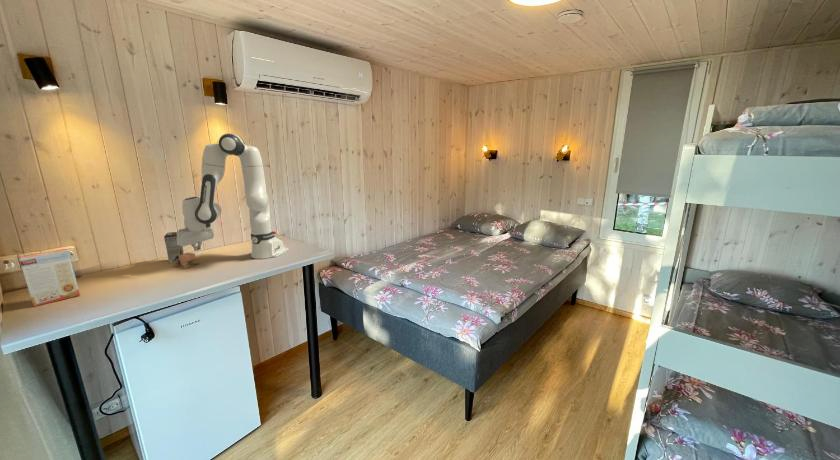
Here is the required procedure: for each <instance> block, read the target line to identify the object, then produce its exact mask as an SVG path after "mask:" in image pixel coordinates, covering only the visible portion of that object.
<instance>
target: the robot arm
mask: <svg viewBox="0 0 840 460" xmlns="http://www.w3.org/2000/svg"><path fill="white" fill-rule="evenodd" d="M228 156H235V157H238V158H239V161H240V165H241V167H240V168H241V173H242V178H243V187H244V197H245V202H246V203H245V204H246V206H247V207H248V211H249V225H250V240H251V252H250V256H251V258H253V259H257V260H259V259H260V260H262V259H269V258H277V257H279V256H280V255H281V256H282V254H284V253H286V252H287V251H289V248H288V247H286V246H285V245H284V244H285V243H284V241H282V240H281V239H279V238H278V237H276V236H275V235H278V231H277V230H272V221H271V212H270V211H271V210H270V200H269V199H270V198H269V196H268V194H267V185H266V177H265V171H264V163H263V159H262V156H261V153H260V149H258V147H256V146H252V145H246V144H245V141H244V139H243V138H242V137H241V136H239V135H238V134H235V133H224V134H222V135H221V136H220V137H219V139H218V143H210V144H209V143H208V144H207V145H205V147H204V149H203V152H202V157H201V188H200V194H199V195H200V197H199V196H191V197H187V198H184V199H183V200H182V203H181V206H182V208H181V209H182V215H183V217H184V220H183V222H184V223H183V224H184V225H183V226H184V228H180V229H178V230H177V231H176V232H177V245H178V246H183V247H186V246H189V245H191V246H192V248H193V251H200V250H202V245H203V242H205V241H209V240H212V239H214V237H215V234H214V229H213V227H212V226H213V222H215V221H216V220H217V219H218V218H219V217H220V216H221V214H222V208H221V206H220V205H219V204H218V203H216V202H215V195H216V193H215V192H216V189H217V187H218V185H219V183H220V182H221V181H222V180H223V178H224V175H225V171H226V161H227V157H228Z"/></svg>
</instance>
